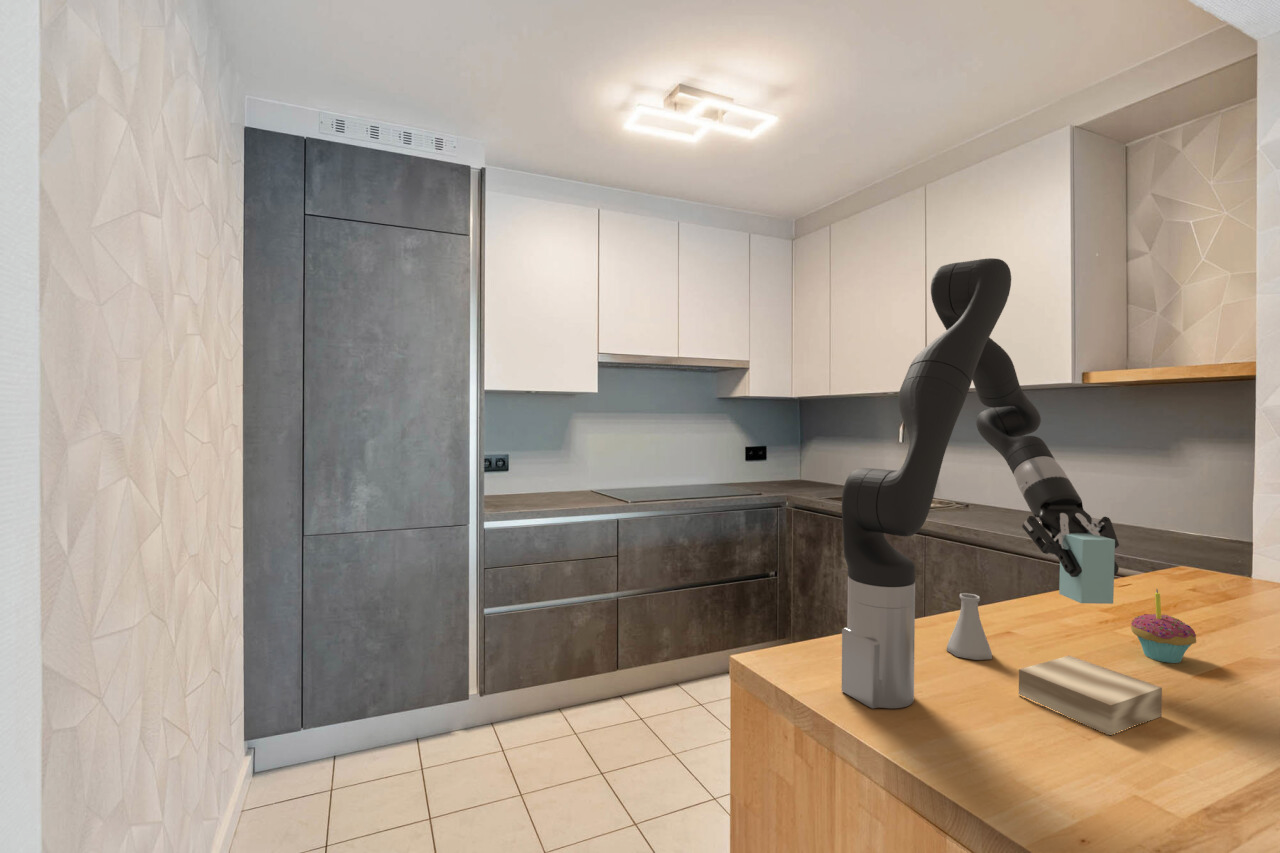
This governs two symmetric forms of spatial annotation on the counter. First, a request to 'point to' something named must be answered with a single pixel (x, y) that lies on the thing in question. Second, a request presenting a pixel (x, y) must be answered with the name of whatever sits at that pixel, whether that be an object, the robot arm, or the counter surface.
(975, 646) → the flask
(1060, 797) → the counter surface
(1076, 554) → the teal block
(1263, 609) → the counter surface
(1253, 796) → the counter surface
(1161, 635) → the cupcake
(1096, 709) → the birch plinth
